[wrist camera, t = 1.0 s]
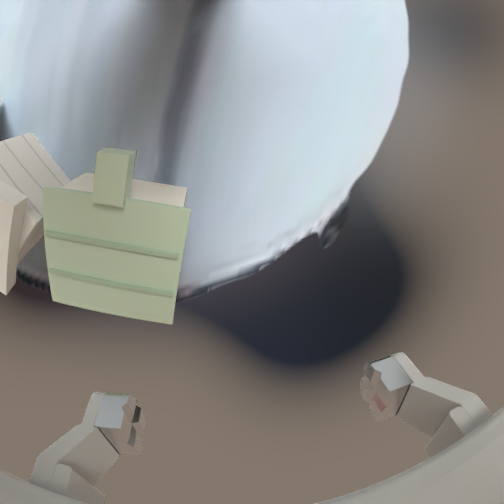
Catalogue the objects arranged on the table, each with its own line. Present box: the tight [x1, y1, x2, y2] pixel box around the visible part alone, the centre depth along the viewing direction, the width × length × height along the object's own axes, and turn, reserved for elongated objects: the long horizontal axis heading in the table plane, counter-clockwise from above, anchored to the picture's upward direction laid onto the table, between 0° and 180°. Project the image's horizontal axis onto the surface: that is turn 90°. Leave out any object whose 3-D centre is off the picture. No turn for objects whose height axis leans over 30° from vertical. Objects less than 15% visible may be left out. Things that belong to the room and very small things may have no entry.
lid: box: [43, 147, 191, 325], centre depth 32 cm, size 24×20×4 cm
